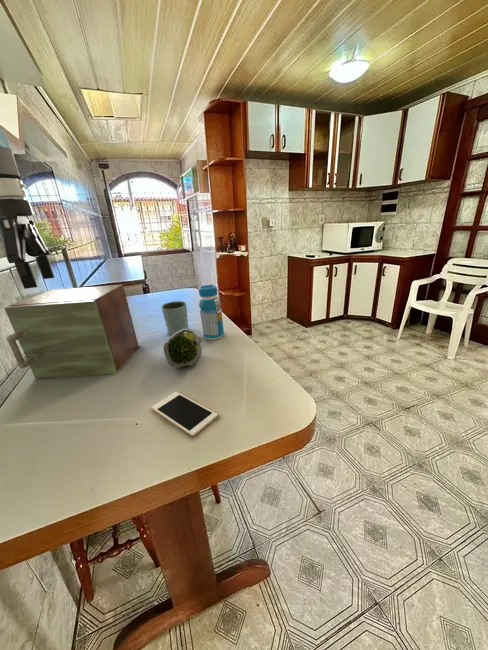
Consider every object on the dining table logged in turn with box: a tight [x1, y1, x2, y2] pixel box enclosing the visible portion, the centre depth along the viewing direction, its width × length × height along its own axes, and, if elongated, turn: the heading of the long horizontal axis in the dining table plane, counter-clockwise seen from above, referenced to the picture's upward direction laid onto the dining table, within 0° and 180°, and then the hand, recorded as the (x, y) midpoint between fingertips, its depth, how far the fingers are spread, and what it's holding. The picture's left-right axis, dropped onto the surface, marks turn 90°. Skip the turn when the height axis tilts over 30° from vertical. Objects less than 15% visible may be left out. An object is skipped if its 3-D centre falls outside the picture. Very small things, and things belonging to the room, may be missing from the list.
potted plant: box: [162, 328, 203, 369], centre depth 85 cm, size 12×13×15 cm
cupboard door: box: [3, 300, 118, 379], centre depth 79 cm, size 7×26×24 cm, turn 89°
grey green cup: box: [161, 300, 189, 336], centre depth 111 cm, size 10×10×12 cm
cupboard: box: [8, 284, 139, 372], centre depth 91 cm, size 18×26×24 cm
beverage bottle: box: [198, 284, 225, 341], centre depth 103 cm, size 8×8×20 cm
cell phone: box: [151, 391, 218, 437], centre depth 65 cm, size 8×16×1 cm, turn 50°
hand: (40, 282), depth 75 cm, fingers open, 13 cm apart
